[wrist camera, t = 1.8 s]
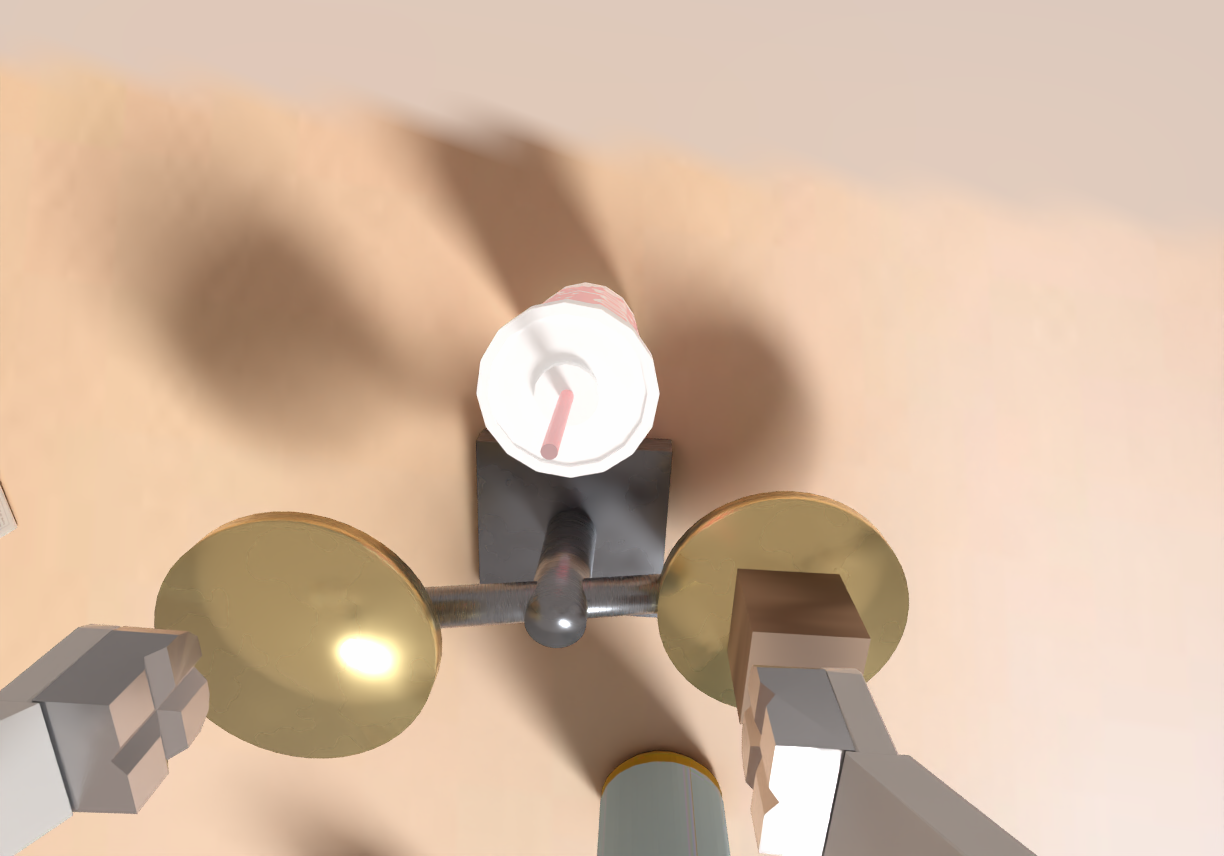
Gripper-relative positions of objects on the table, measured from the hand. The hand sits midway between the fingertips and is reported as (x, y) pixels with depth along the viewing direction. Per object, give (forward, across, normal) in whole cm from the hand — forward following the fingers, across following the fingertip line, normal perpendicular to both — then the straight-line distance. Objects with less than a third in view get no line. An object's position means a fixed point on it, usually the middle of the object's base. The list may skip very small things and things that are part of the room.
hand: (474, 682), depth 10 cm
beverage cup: (+23, 0, 0) cm, 23 cm away
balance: (+23, 0, +9) cm, 25 cm away
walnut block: (+16, -9, +9) cm, 20 cm away
